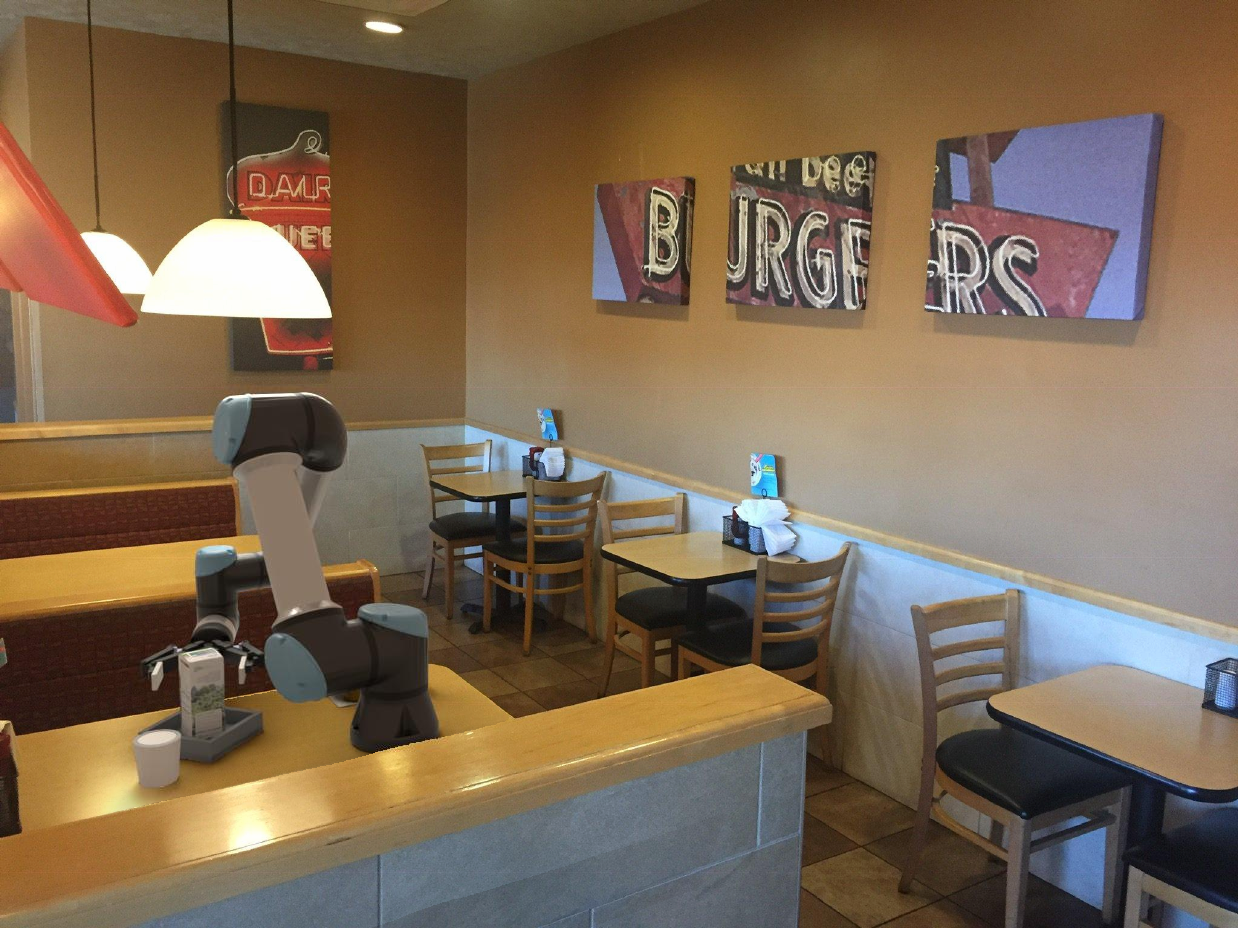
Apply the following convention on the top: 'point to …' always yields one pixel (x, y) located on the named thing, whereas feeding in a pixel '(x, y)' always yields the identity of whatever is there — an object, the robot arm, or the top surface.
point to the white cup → (157, 757)
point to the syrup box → (202, 693)
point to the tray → (236, 732)
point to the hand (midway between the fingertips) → (198, 679)
